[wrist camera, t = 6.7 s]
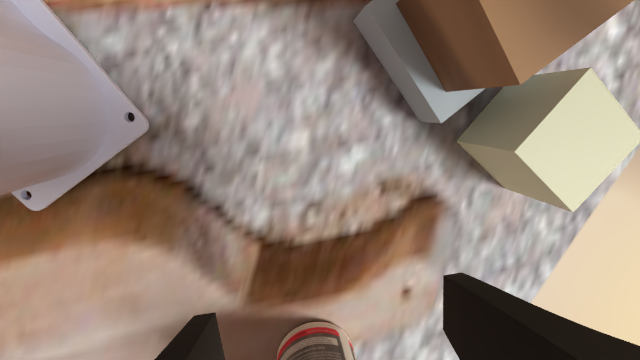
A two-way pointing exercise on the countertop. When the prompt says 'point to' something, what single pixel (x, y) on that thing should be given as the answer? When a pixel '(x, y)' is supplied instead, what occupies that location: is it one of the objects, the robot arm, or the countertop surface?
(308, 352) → the pill bottle
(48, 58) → the robot arm
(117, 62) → the countertop surface
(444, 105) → the base block
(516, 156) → the sage cube
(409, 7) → the walnut cube
